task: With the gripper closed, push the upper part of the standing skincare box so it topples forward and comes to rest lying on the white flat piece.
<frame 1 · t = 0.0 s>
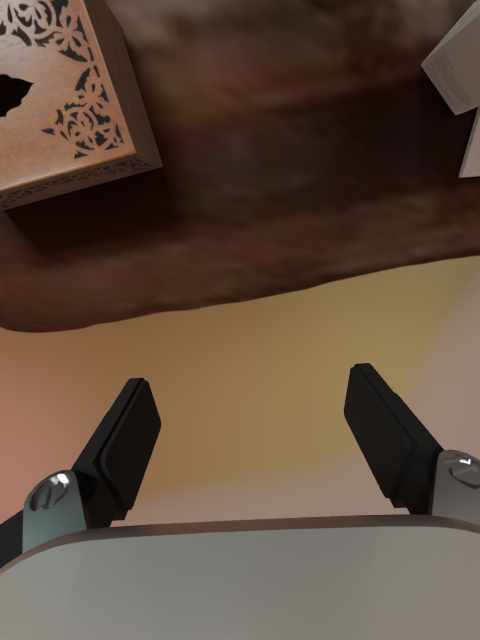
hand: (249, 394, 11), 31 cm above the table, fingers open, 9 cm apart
tissue box cover: (55, 130, 32), on the table
skincare box: (458, 66, 29), on the table
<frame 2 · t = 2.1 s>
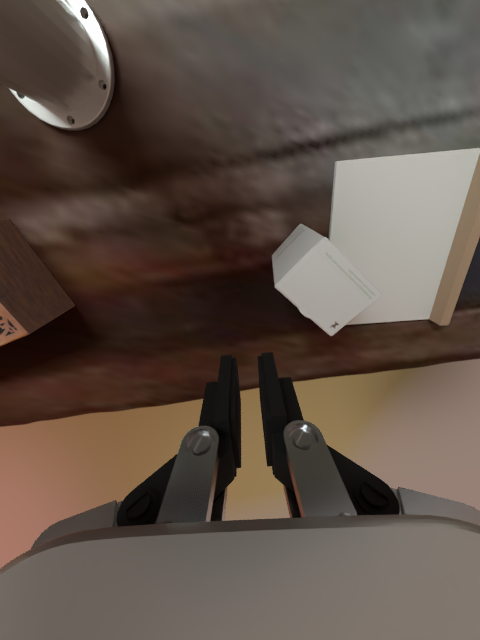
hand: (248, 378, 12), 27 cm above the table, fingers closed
skincare box: (302, 257, 36), on the table, touching white flat piece
white flat piece: (387, 250, 36), on the table
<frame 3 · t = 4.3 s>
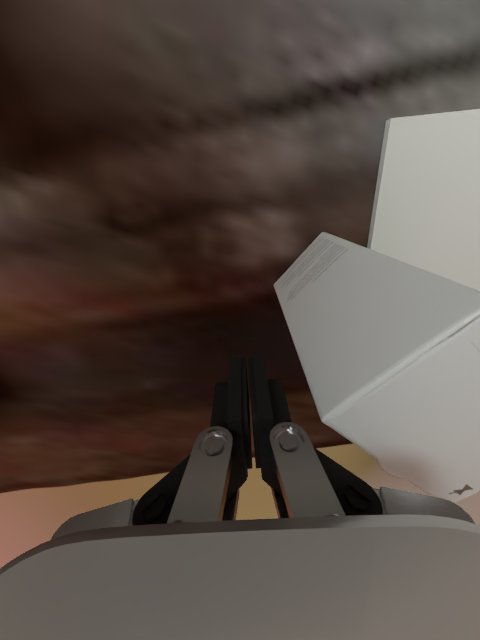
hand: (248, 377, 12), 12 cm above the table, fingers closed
skincare box: (322, 286, 22), on the table, touching gripper, white flat piece
white flat piece: (458, 272, 22), on the table
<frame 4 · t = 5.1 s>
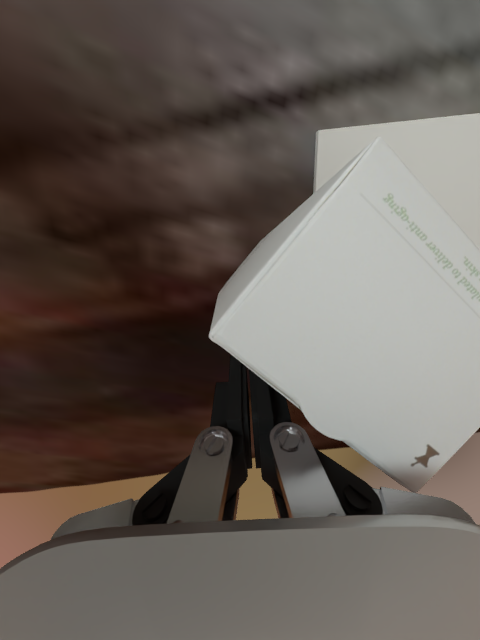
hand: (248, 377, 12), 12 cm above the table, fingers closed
skincare box: (269, 295, 21), point 1 cm above the table, touching gripper, white flat piece
white flat piece: (405, 281, 22), on the table
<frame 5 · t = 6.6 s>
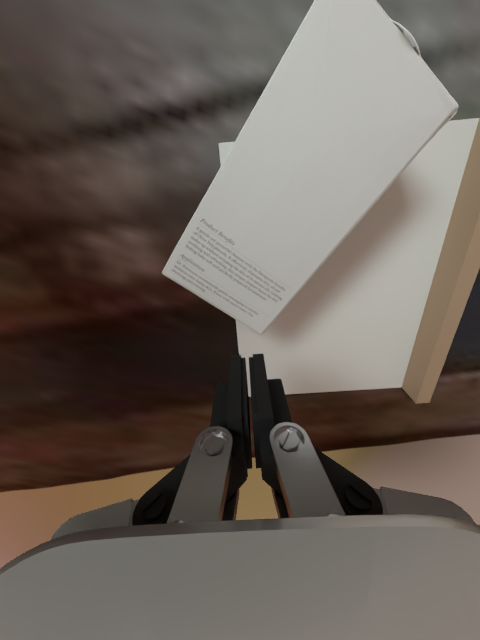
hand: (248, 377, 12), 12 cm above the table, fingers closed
skincare box: (213, 294, 18), point 4 cm above the table, touching white flat piece
white flat piece: (328, 291, 22), on the table
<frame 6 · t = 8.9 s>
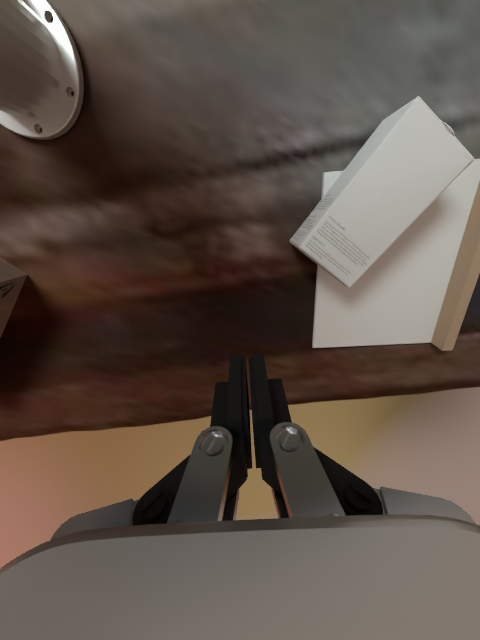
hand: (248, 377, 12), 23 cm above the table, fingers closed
skincare box: (315, 265, 29), point 4 cm above the table, touching white flat piece
white flat piece: (382, 268, 33), on the table
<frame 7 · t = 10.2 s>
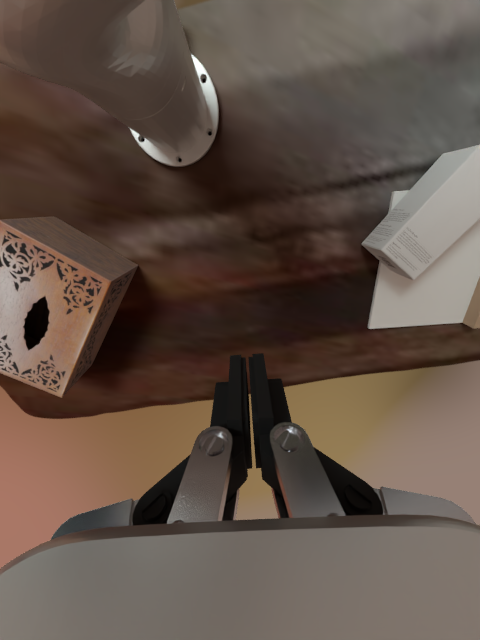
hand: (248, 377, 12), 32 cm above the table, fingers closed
tissue box cover: (77, 300, 45), on the table
skincare box: (385, 262, 37), point 4 cm above the table, touching white flat piece
white flat piece: (429, 264, 42), on the table
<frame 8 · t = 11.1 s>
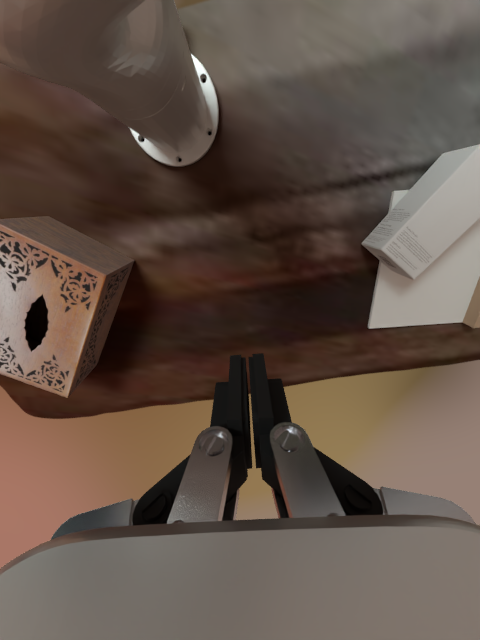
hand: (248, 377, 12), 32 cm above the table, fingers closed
tissue box cover: (77, 300, 45), on the table
skincare box: (385, 262, 37), point 4 cm above the table, touching white flat piece
white flat piece: (430, 263, 42), on the table
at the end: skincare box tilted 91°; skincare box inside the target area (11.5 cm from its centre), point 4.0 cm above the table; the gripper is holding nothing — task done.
